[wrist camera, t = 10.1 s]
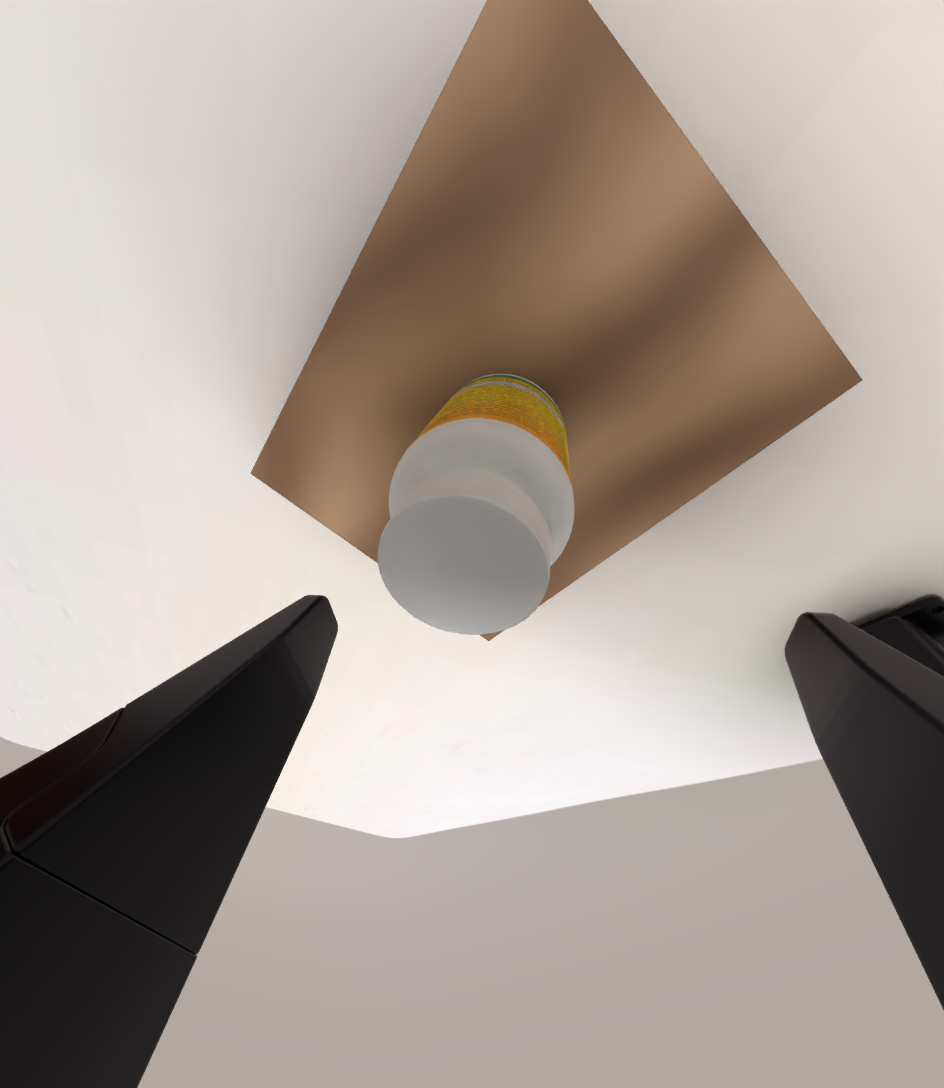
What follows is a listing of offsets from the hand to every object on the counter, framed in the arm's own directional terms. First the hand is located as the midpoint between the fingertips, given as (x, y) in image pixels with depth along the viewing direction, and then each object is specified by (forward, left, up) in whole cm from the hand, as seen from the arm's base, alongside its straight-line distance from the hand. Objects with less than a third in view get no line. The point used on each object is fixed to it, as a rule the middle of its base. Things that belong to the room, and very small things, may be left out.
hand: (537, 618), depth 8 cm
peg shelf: (+1, +1, -13) cm, 13 cm away
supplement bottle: (+1, +1, -11) cm, 11 cm away
